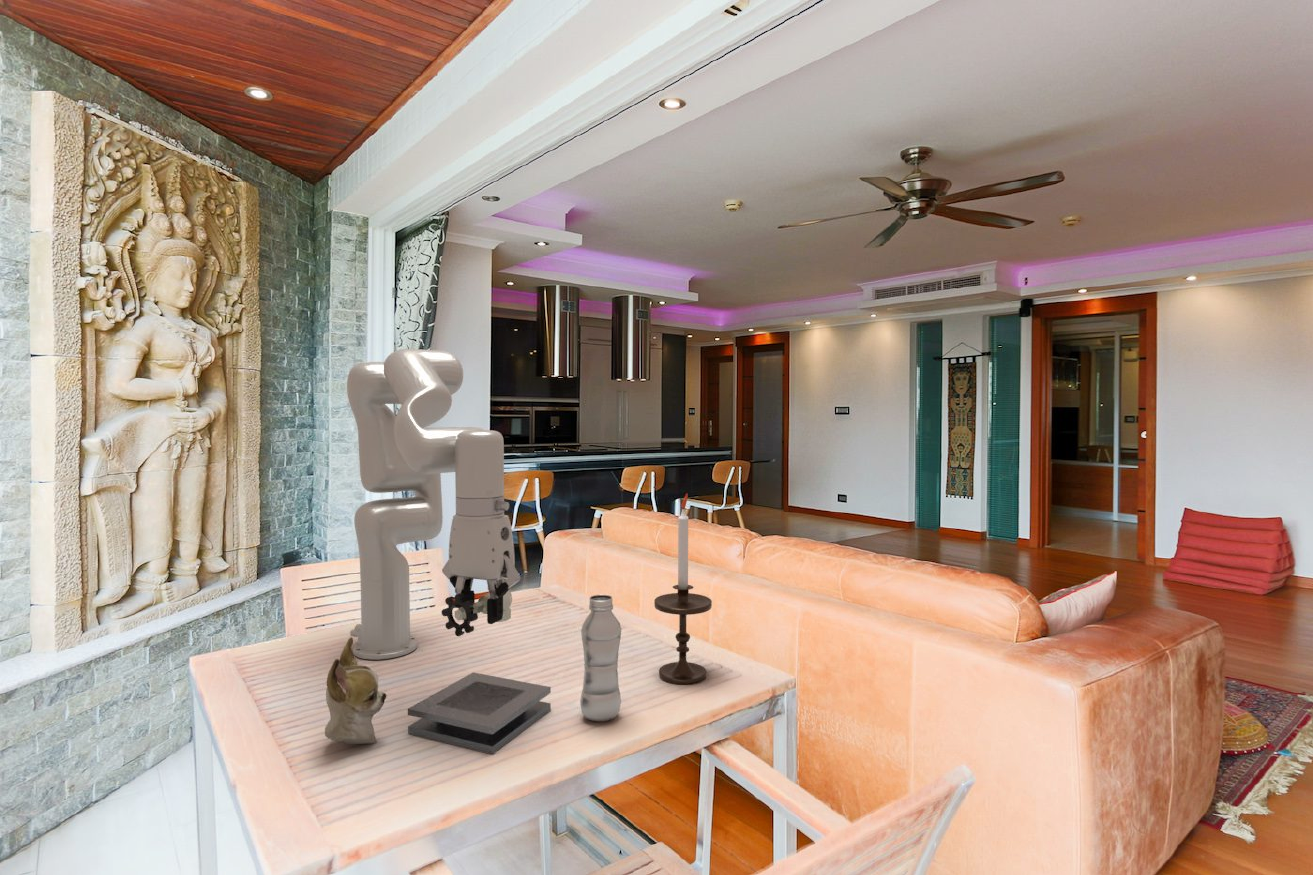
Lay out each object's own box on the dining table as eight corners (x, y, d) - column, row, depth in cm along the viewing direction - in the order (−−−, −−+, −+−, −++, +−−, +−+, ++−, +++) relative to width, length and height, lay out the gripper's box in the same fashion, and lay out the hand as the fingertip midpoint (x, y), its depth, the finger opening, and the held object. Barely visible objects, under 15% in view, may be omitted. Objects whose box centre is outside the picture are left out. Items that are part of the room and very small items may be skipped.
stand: (408, 733, 108) (407, 708, 107) (473, 694, 122) (473, 672, 122) (492, 754, 101) (492, 727, 101) (550, 710, 116) (550, 687, 116)
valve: (492, 612, 119) (441, 633, 108) (492, 574, 118) (441, 591, 108) (523, 618, 116) (473, 639, 105) (522, 579, 115) (473, 597, 105)
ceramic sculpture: (380, 759, 100) (379, 657, 99) (316, 765, 98) (313, 661, 97) (392, 725, 110) (391, 633, 110) (334, 730, 109) (332, 637, 108)
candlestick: (719, 670, 134) (720, 491, 132) (698, 691, 124) (699, 497, 122) (668, 661, 138) (668, 488, 137) (644, 680, 129) (645, 494, 127)
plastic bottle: (580, 709, 116) (580, 592, 115) (620, 708, 117) (620, 591, 116) (579, 727, 110) (579, 603, 109) (622, 725, 110) (622, 602, 110)
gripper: (538, 507, 110) (538, 619, 111) (452, 501, 117) (453, 606, 118) (510, 514, 103) (511, 633, 104) (421, 507, 110) (423, 619, 111)
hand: (480, 618), depth 111 cm, fingers closed on valve, 4 cm apart
